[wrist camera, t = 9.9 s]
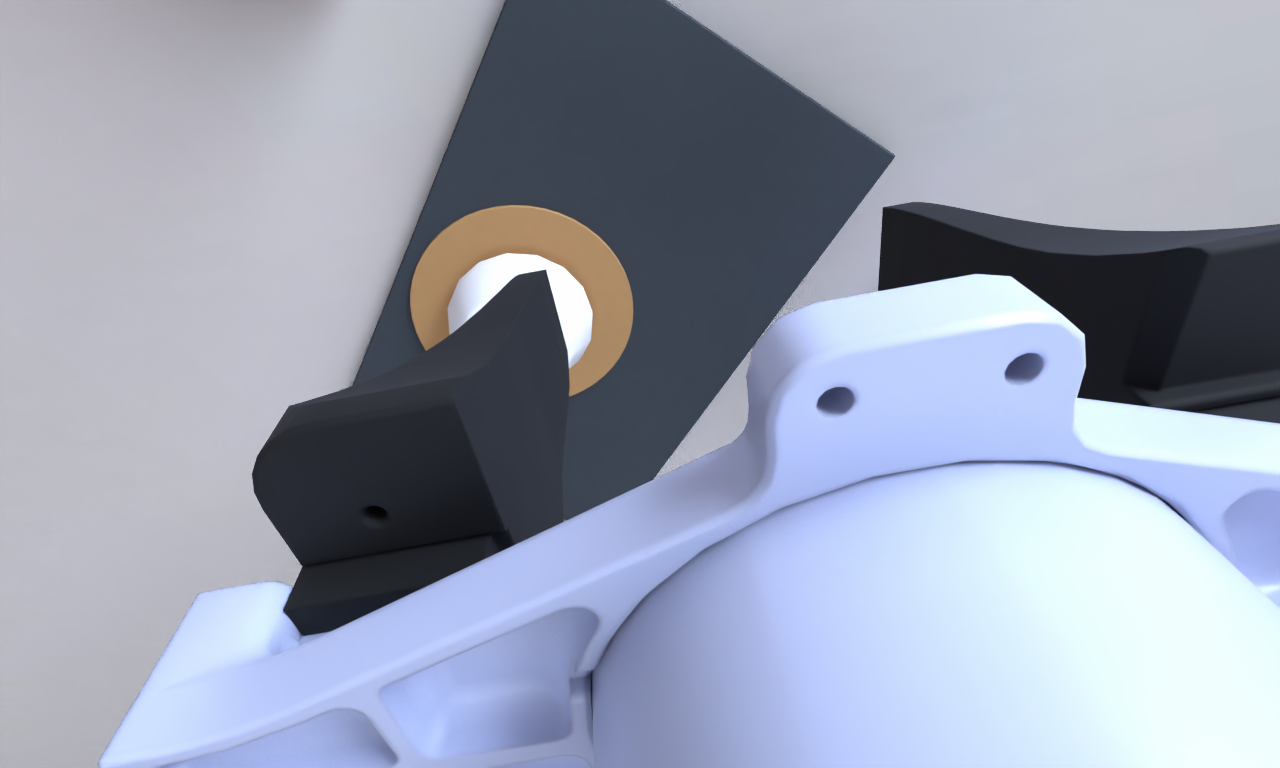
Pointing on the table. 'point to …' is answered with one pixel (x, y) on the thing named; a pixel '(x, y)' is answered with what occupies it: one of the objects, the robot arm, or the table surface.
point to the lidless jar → (501, 269)
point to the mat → (631, 213)
